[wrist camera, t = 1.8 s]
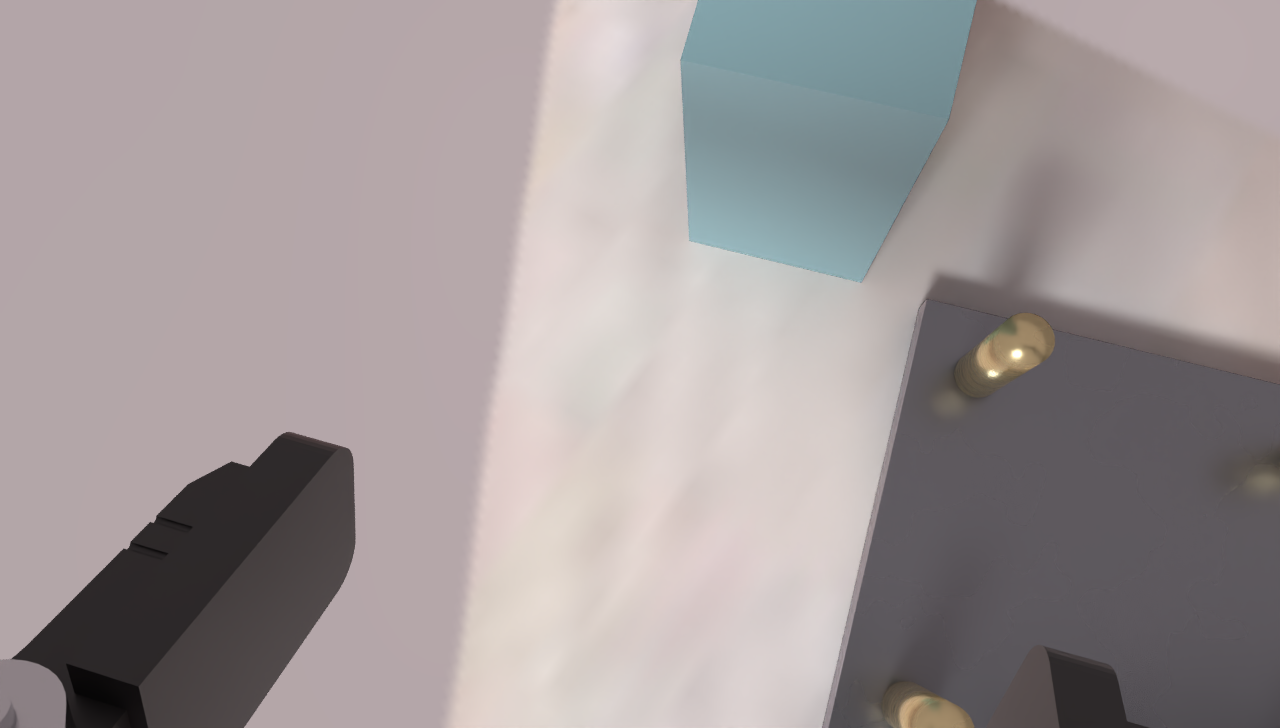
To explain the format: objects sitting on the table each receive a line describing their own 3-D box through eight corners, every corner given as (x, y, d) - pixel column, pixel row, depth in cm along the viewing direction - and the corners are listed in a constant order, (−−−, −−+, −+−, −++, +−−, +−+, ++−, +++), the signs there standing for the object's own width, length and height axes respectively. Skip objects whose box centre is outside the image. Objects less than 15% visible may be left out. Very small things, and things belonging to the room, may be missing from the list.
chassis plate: (1373, 419, 25) (1532, 383, 20) (1308, 898, 23) (1471, 985, 18) (918, 308, 27) (966, 250, 22) (817, 749, 24) (845, 792, 20)
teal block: (900, 123, 28) (1003, -118, 18) (861, 282, 27) (949, 119, 17) (733, 85, 29) (747, -167, 19) (689, 240, 28) (680, 59, 18)
